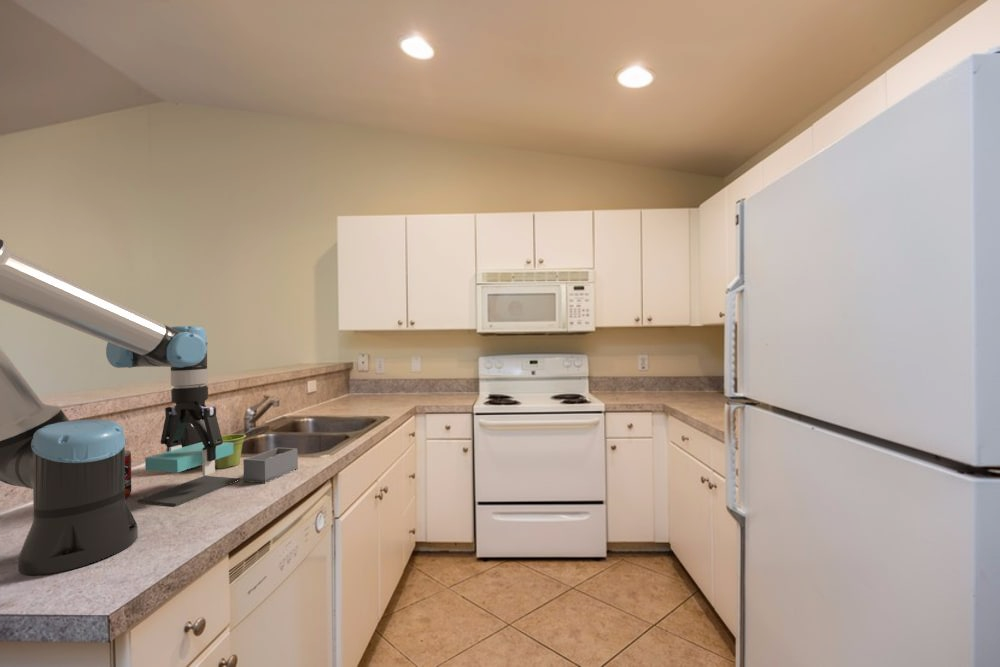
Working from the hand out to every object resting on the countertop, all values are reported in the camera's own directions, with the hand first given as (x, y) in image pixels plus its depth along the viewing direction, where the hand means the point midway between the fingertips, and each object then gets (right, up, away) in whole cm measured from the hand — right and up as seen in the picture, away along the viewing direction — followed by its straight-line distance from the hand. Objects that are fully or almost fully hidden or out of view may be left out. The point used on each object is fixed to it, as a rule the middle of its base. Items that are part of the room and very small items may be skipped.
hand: (192, 472), depth 104 cm
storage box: (+15, -4, +11) cm, 19 cm away
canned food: (-17, -5, -4) cm, 18 cm away
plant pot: (-5, -5, +20) cm, 22 cm away
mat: (0, -5, 0) cm, 5 cm away
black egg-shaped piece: (-16, -5, +19) cm, 26 cm away
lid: (0, +3, 0) cm, 3 cm away
